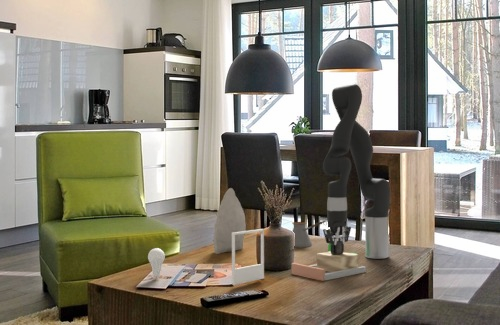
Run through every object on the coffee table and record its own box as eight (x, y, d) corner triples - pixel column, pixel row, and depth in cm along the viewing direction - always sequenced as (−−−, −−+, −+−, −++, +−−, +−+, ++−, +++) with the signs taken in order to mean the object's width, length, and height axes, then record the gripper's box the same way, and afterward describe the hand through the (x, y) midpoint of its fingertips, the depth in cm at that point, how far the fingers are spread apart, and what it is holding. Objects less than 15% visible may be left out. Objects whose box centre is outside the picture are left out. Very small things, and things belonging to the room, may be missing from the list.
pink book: (334, 265, 244) (334, 255, 244) (365, 271, 232) (365, 261, 231) (291, 273, 229) (291, 263, 229) (322, 280, 216) (322, 269, 216)
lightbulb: (167, 277, 224) (167, 247, 224) (160, 280, 218) (159, 250, 218) (153, 276, 226) (152, 246, 226) (145, 279, 220) (144, 249, 220)
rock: (220, 259, 259) (220, 189, 258) (206, 257, 265) (205, 188, 264) (252, 253, 273) (251, 187, 272) (237, 251, 279) (237, 186, 278)
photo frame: (261, 278, 222) (261, 228, 221) (264, 278, 221) (263, 229, 221) (231, 284, 212) (231, 232, 212) (233, 284, 211) (233, 233, 211)
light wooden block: (334, 265, 241) (334, 238, 241) (358, 270, 232) (358, 241, 231) (316, 269, 234) (316, 240, 234) (340, 273, 225) (340, 244, 225)
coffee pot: (281, 250, 282) (281, 218, 281) (298, 247, 290) (298, 216, 289) (317, 256, 266) (317, 221, 266) (333, 252, 274) (333, 219, 274)
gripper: (342, 207, 240) (342, 250, 240) (317, 209, 231) (317, 254, 231) (356, 208, 234) (356, 253, 235) (331, 211, 225) (332, 257, 226)
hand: (337, 253), depth 233 cm, fingers closed on light wooden block, 3 cm apart
